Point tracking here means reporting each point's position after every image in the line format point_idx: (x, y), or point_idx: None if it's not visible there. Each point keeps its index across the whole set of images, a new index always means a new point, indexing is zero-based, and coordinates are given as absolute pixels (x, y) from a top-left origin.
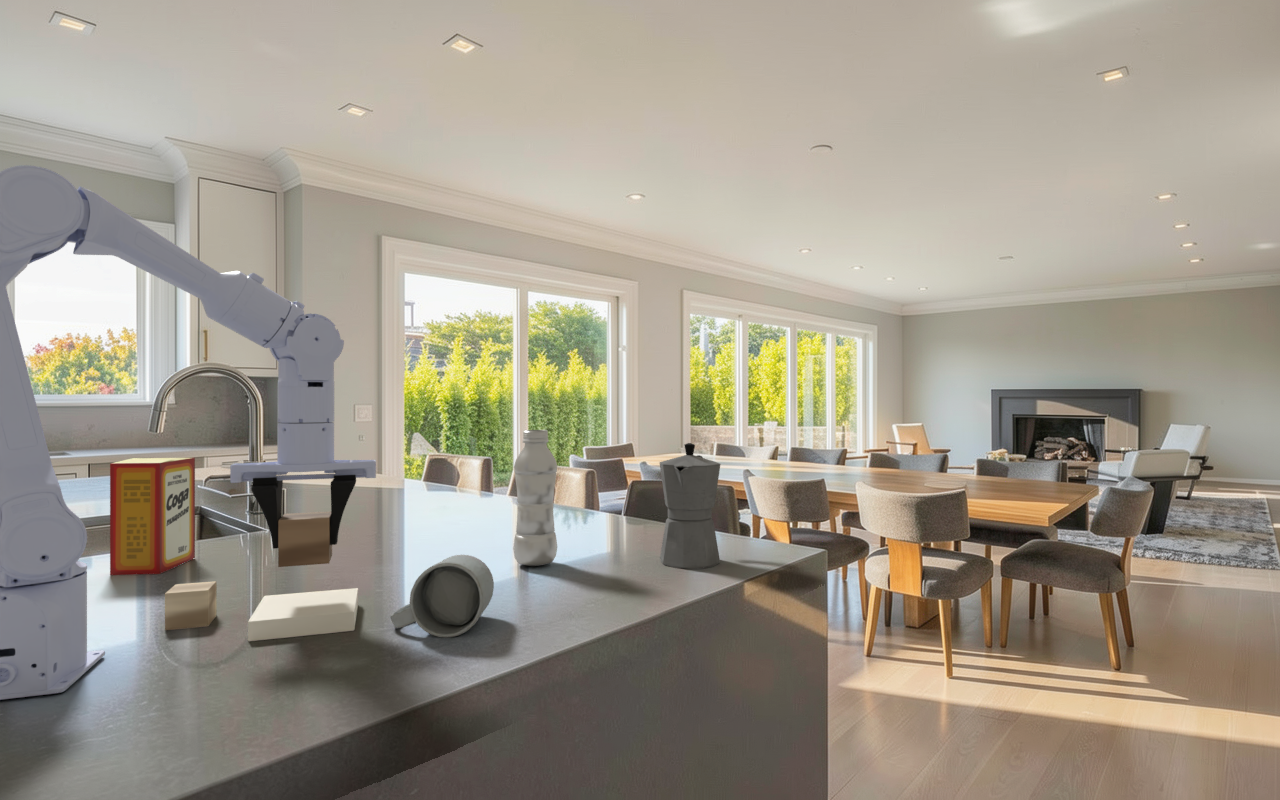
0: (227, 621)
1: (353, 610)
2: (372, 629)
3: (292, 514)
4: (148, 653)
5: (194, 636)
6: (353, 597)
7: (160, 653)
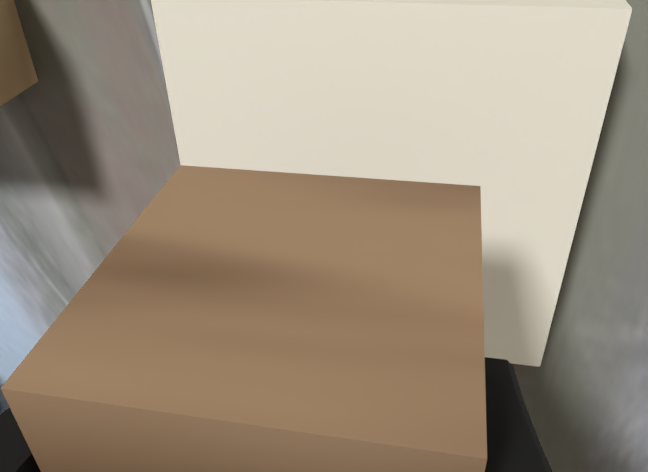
0: (79, 42)
1: (539, 355)
2: (594, 328)
3: (101, 456)
4: (13, 270)
5: (53, 178)
6: (570, 191)
7: (42, 281)
